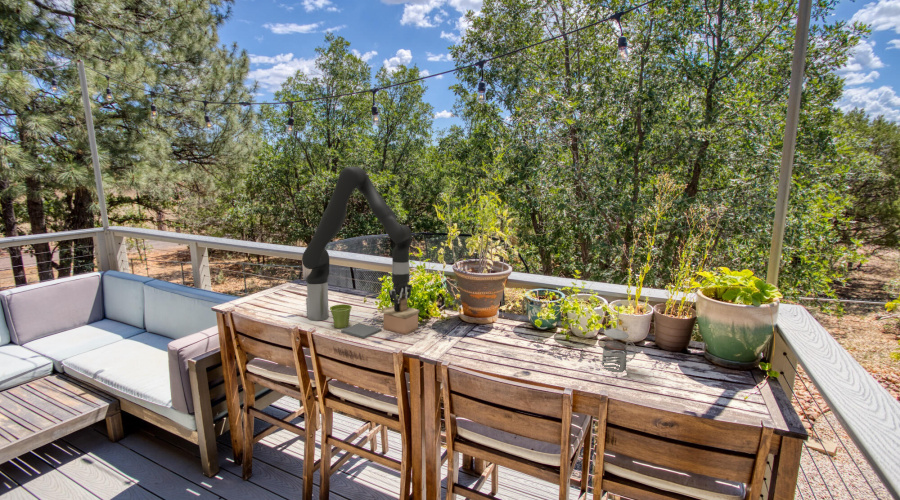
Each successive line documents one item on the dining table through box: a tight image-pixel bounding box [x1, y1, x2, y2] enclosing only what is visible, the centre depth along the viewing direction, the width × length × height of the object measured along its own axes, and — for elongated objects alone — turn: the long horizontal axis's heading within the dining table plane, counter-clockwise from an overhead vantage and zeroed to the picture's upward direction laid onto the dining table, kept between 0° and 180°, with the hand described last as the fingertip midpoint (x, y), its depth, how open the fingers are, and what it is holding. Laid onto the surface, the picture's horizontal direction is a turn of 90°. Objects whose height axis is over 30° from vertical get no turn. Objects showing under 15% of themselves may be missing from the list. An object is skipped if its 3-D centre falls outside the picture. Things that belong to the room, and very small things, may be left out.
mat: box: [340, 322, 382, 339], centre depth 180 cm, size 13×11×1 cm
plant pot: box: [329, 303, 353, 329], centre depth 185 cm, size 9×9×9 cm
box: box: [382, 313, 419, 336], centre depth 183 cm, size 12×9×7 cm
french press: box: [601, 301, 637, 372], centre depth 144 cm, size 10×12×25 cm
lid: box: [381, 298, 420, 319], centre depth 182 cm, size 13×10×6 cm
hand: (400, 309), depth 183 cm, fingers closed on lid, 4 cm apart
